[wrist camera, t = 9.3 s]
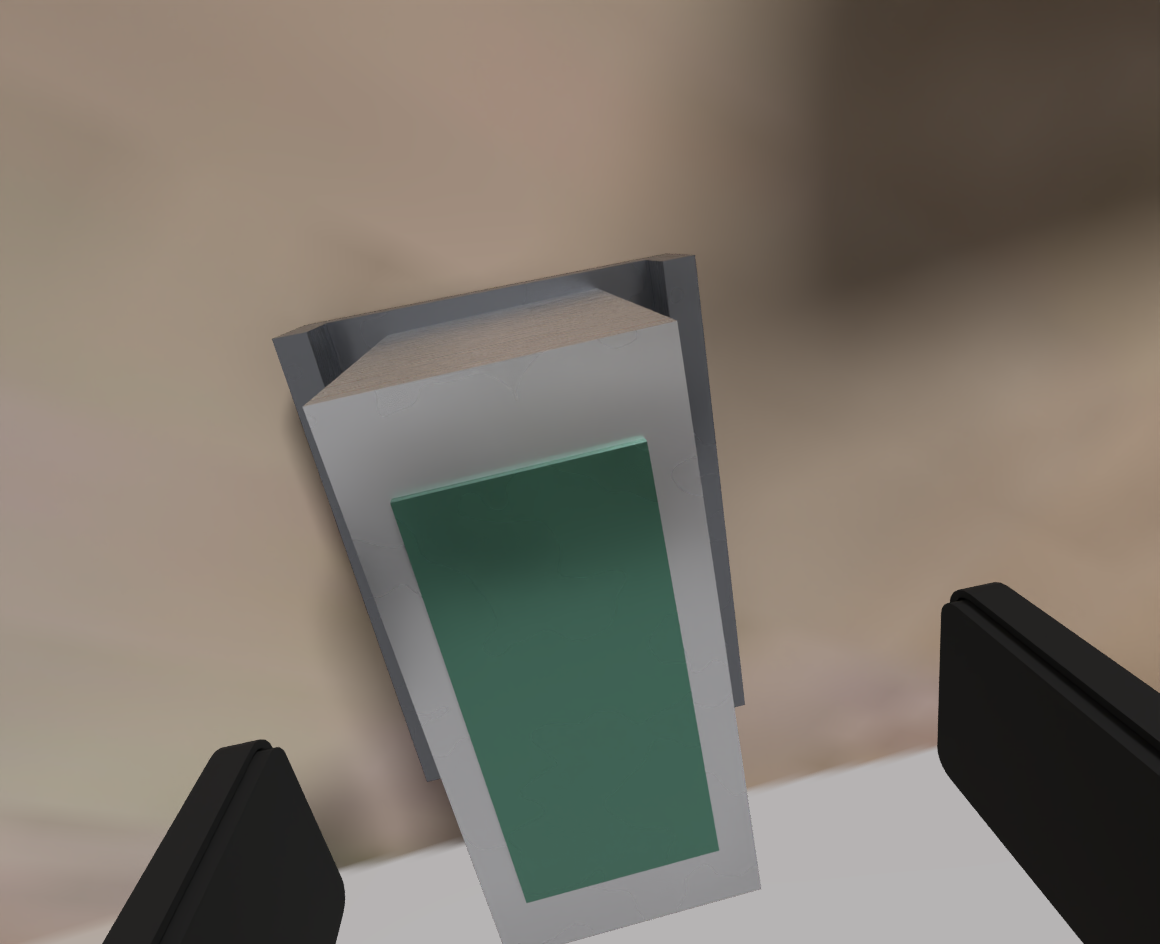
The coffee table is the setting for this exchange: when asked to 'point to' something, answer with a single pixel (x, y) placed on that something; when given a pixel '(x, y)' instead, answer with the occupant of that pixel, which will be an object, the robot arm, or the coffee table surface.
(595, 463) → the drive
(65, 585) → the coffee table surface
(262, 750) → the robot arm
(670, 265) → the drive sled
